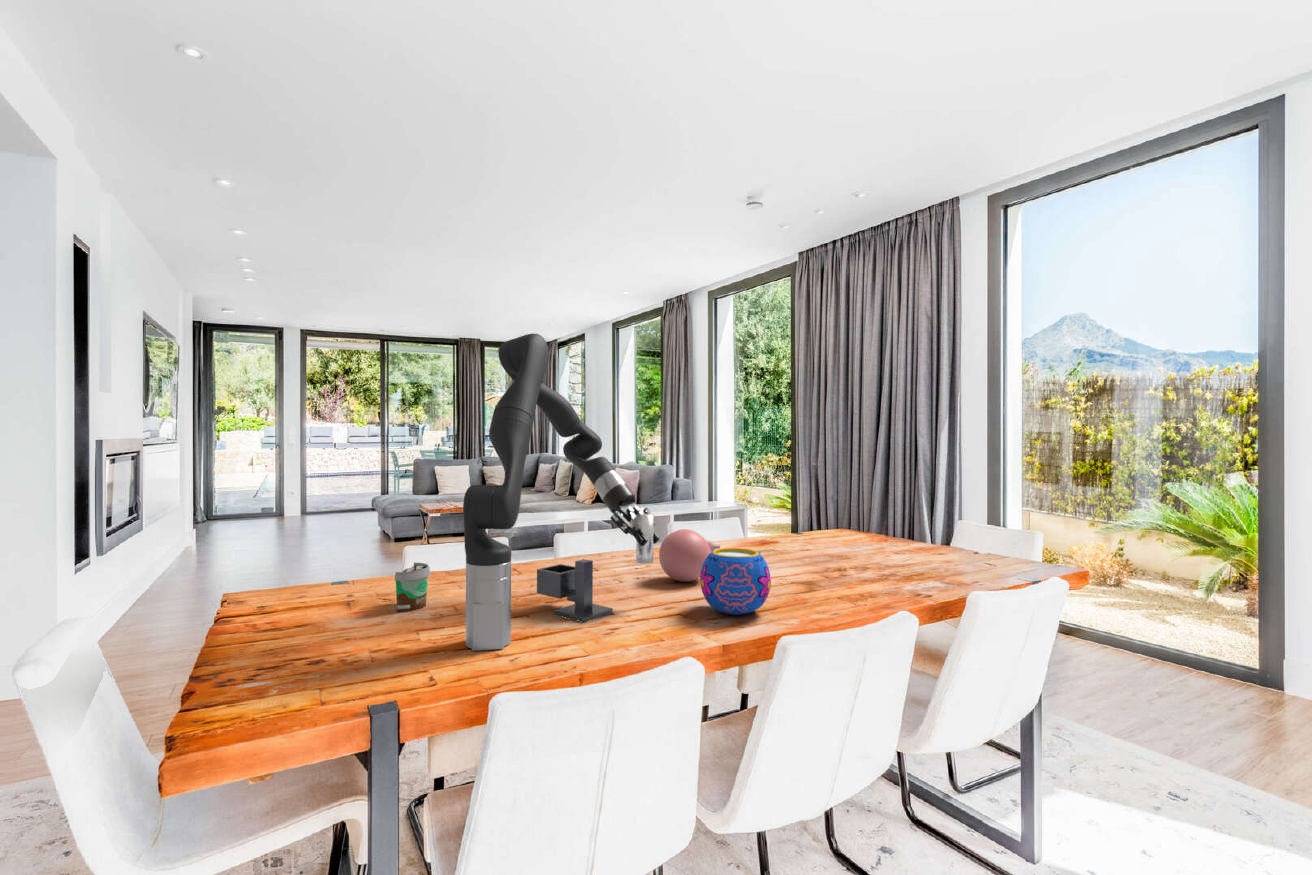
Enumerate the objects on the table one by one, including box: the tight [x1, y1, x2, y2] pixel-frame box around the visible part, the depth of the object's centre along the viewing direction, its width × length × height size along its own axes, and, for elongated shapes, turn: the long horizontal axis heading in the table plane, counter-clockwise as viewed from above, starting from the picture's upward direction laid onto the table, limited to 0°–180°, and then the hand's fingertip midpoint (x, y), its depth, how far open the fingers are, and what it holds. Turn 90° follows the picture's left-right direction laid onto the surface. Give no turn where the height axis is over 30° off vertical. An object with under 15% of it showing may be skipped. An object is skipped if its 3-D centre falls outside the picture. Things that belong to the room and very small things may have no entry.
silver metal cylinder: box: [635, 513, 655, 565], centre depth 163 cm, size 4×4×12 cm
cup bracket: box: [536, 558, 614, 623], centre depth 158 cm, size 17×10×13 cm, turn 54°
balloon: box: [658, 529, 721, 583], centre depth 192 cm, size 15×20×15 cm
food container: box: [394, 562, 432, 613], centre depth 162 cm, size 12×6×10 cm, turn 179°
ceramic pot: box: [699, 547, 772, 616], centre depth 159 cm, size 18×18×15 cm
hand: (650, 542), depth 162 cm, fingers closed on silver metal cylinder, 4 cm apart
